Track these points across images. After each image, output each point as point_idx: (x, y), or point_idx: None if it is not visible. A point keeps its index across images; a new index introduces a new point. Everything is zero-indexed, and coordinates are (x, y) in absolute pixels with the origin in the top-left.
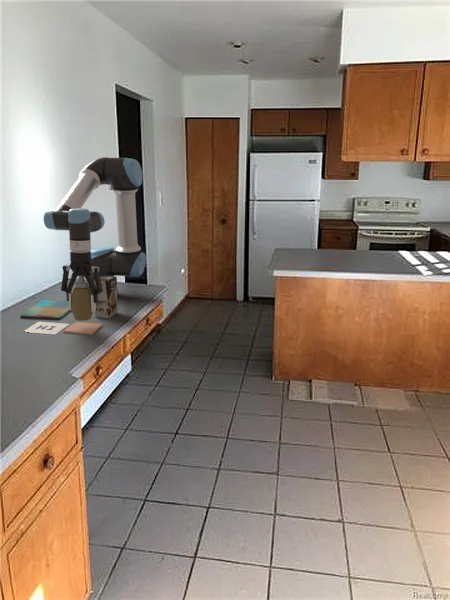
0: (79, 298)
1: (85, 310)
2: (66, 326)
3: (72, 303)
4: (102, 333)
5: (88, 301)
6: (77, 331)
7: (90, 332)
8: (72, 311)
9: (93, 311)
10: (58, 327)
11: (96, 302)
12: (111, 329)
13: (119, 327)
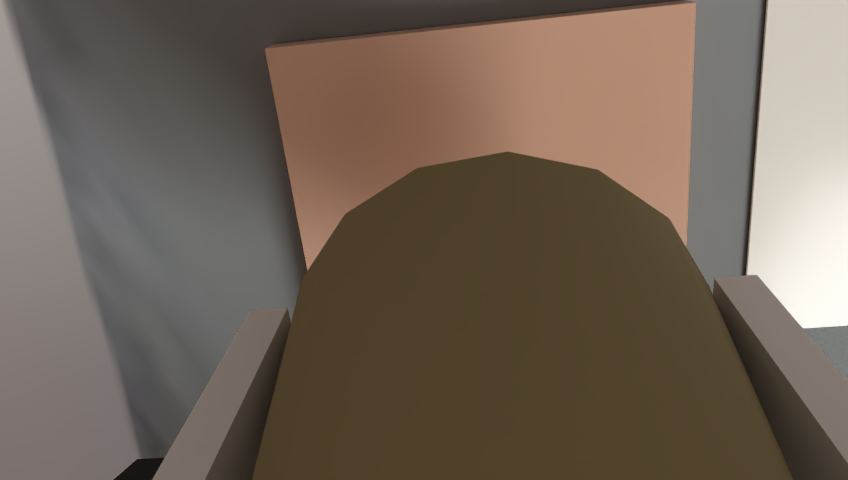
0: (459, 358)
1: (345, 233)
2: (749, 240)
3: (706, 310)
4: (180, 140)
5: (269, 420)
6: (479, 32)
7: (285, 52)
8: (651, 206)
9: (251, 323)
10: (842, 167)
11: (130, 476)
12: (170, 303)
13: (132, 387)
